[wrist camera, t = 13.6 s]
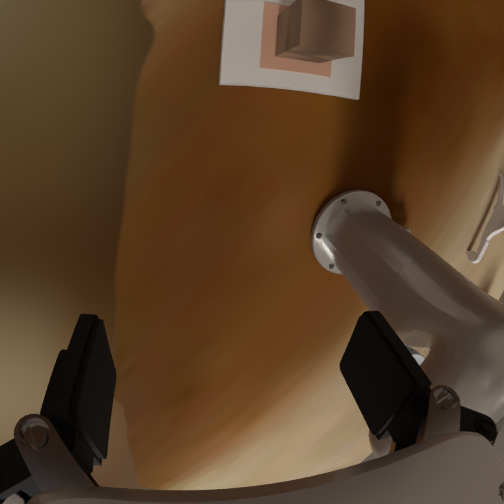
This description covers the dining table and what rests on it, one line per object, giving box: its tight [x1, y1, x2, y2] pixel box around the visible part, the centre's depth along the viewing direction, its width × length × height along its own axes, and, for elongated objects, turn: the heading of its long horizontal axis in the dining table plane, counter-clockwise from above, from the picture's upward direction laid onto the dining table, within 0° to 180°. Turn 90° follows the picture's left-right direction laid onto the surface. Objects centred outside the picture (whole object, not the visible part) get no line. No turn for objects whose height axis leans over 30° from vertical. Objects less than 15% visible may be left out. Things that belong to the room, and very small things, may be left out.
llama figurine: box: [466, 173, 504, 263], centre depth 43 cm, size 2×11×18 cm
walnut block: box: [275, 0, 356, 63], centre depth 23 cm, size 5×5×8 cm
